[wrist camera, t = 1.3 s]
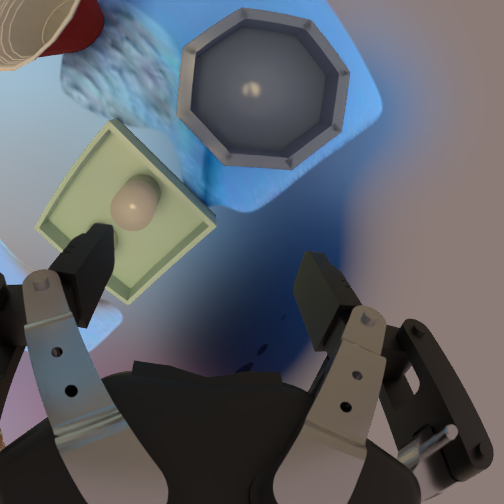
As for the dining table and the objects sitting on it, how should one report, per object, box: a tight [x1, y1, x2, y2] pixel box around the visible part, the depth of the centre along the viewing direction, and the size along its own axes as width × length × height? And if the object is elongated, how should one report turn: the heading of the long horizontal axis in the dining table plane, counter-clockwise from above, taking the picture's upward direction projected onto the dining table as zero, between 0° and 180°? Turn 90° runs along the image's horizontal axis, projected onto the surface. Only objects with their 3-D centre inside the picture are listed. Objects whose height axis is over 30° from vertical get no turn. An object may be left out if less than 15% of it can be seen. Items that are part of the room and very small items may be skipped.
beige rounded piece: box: [110, 174, 161, 231], centre depth 26 cm, size 4×4×5 cm
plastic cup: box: [0, 0, 104, 71], centre depth 12 cm, size 11×11×12 cm
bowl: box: [176, 8, 350, 170], centre depth 23 cm, size 16×16×4 cm
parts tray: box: [35, 118, 217, 305], centre depth 28 cm, size 16×16×3 cm
